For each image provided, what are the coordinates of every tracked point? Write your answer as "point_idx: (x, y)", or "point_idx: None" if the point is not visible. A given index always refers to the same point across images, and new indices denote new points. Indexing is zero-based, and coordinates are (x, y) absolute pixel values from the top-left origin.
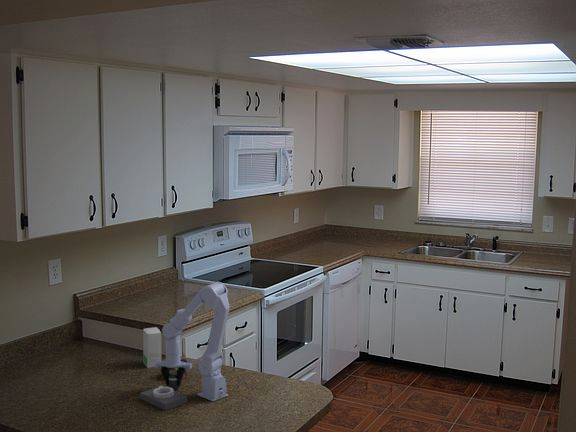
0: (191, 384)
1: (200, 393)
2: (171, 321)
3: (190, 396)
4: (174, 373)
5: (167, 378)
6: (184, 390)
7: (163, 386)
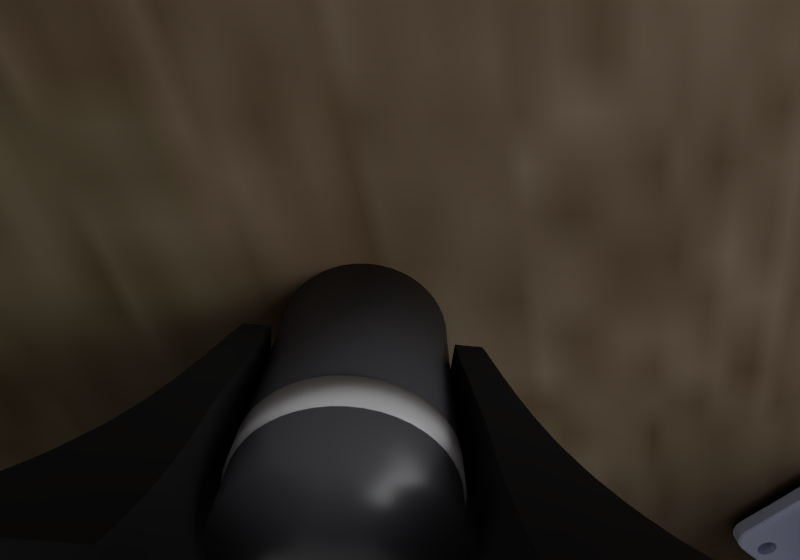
0: (657, 132)
1: (784, 529)
2: None
3: None
4: (346, 510)
5: None
6: (543, 386)
7: None
